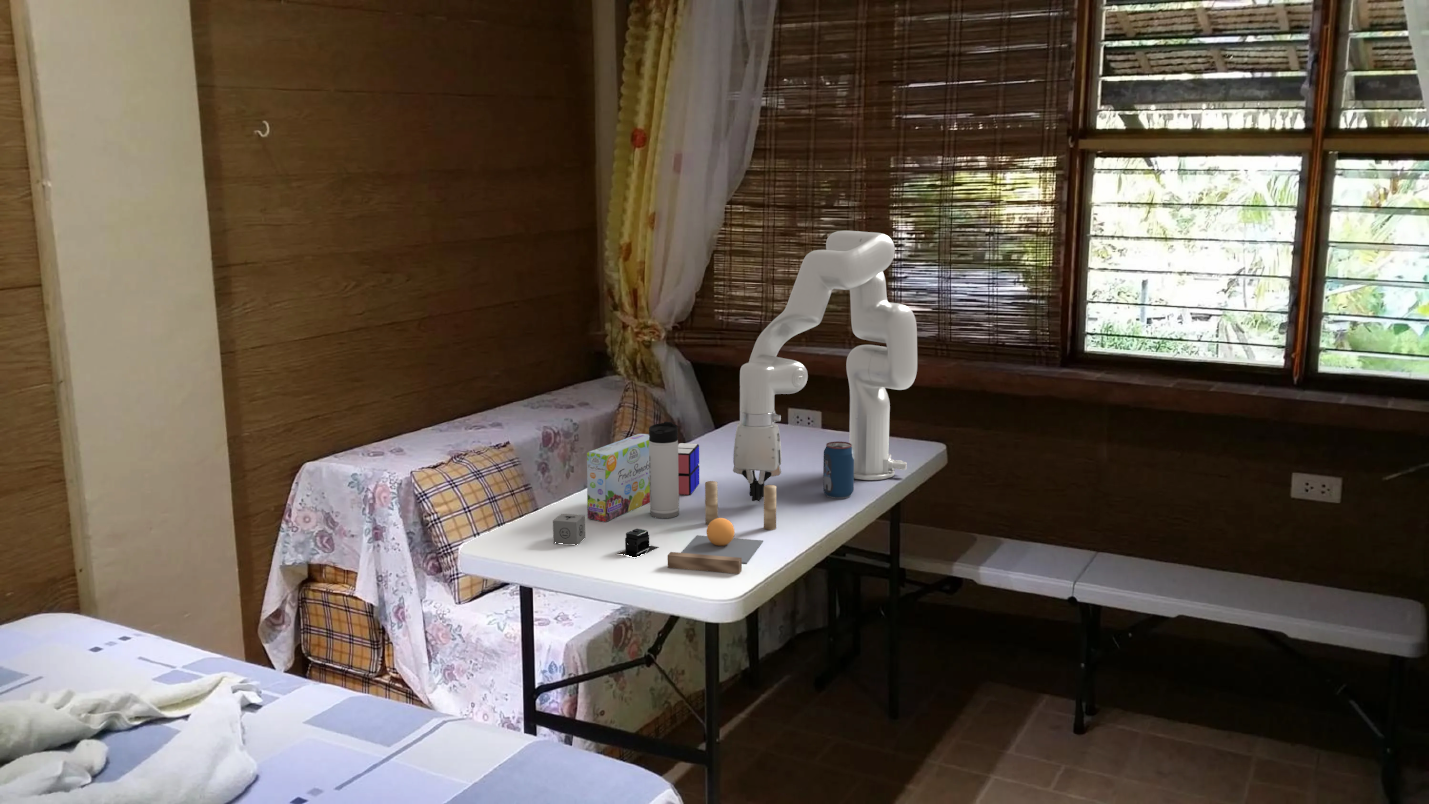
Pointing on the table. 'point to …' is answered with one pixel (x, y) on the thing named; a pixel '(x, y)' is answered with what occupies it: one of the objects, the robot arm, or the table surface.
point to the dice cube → (569, 529)
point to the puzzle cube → (688, 468)
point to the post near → (769, 507)
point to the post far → (711, 501)
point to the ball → (720, 531)
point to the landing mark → (724, 548)
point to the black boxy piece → (637, 543)
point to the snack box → (618, 478)
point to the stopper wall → (704, 562)
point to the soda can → (838, 470)
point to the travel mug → (663, 470)
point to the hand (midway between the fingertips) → (757, 499)
